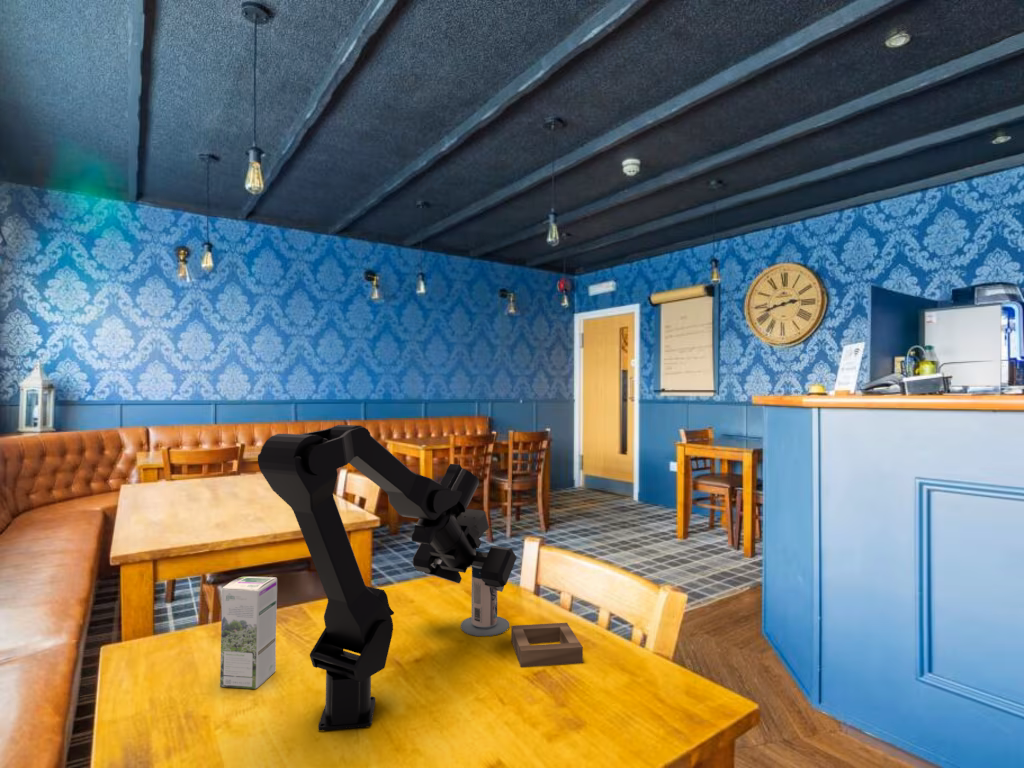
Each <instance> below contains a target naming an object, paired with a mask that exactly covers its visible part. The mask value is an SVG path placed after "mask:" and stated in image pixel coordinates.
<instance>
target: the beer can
mask: <svg viewBox="0 0 1024 768" xmlns="http://www.w3.org/2000/svg"><path fill="white" fill-rule="evenodd" d="M481 569H482V567H479V566H473V565H471V617H472V624H473V625H474V626H476V627H477V628H481V629H487V628H491V627H493V626H494V625H496V624H497V616H498V590H495V589H493V588H491V587H488V586H486V585H485V582H483V581H482V579H481Z"/></svg>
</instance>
